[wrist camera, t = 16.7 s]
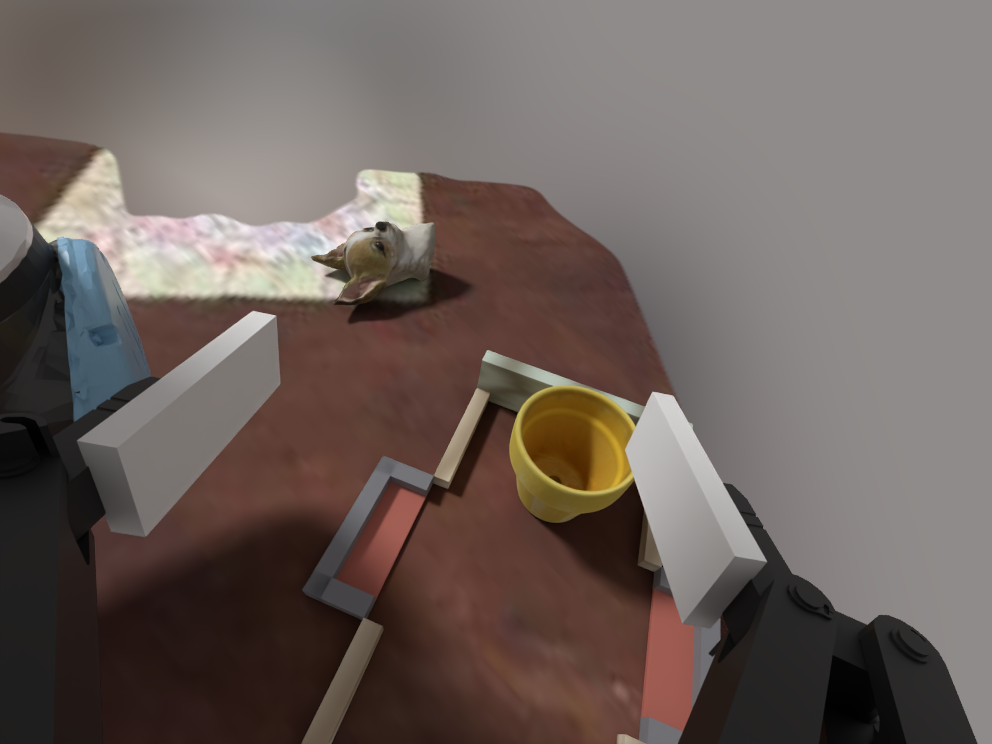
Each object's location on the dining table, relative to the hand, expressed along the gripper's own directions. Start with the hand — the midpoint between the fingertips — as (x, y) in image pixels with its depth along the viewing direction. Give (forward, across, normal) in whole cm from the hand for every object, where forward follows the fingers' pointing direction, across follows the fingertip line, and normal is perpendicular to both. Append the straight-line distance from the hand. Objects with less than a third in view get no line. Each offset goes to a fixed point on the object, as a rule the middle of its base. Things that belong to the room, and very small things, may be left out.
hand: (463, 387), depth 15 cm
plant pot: (+17, +10, -21) cm, 29 cm away
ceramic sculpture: (+42, -13, -14) cm, 46 cm away
